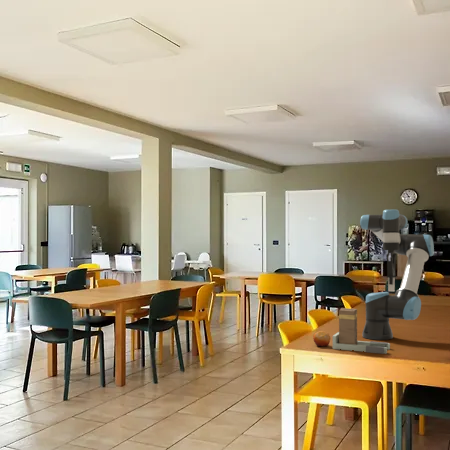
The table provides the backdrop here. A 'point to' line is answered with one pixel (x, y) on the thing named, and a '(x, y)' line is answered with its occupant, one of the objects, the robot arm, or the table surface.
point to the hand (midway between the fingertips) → (391, 291)
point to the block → (348, 326)
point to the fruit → (321, 338)
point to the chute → (361, 346)
